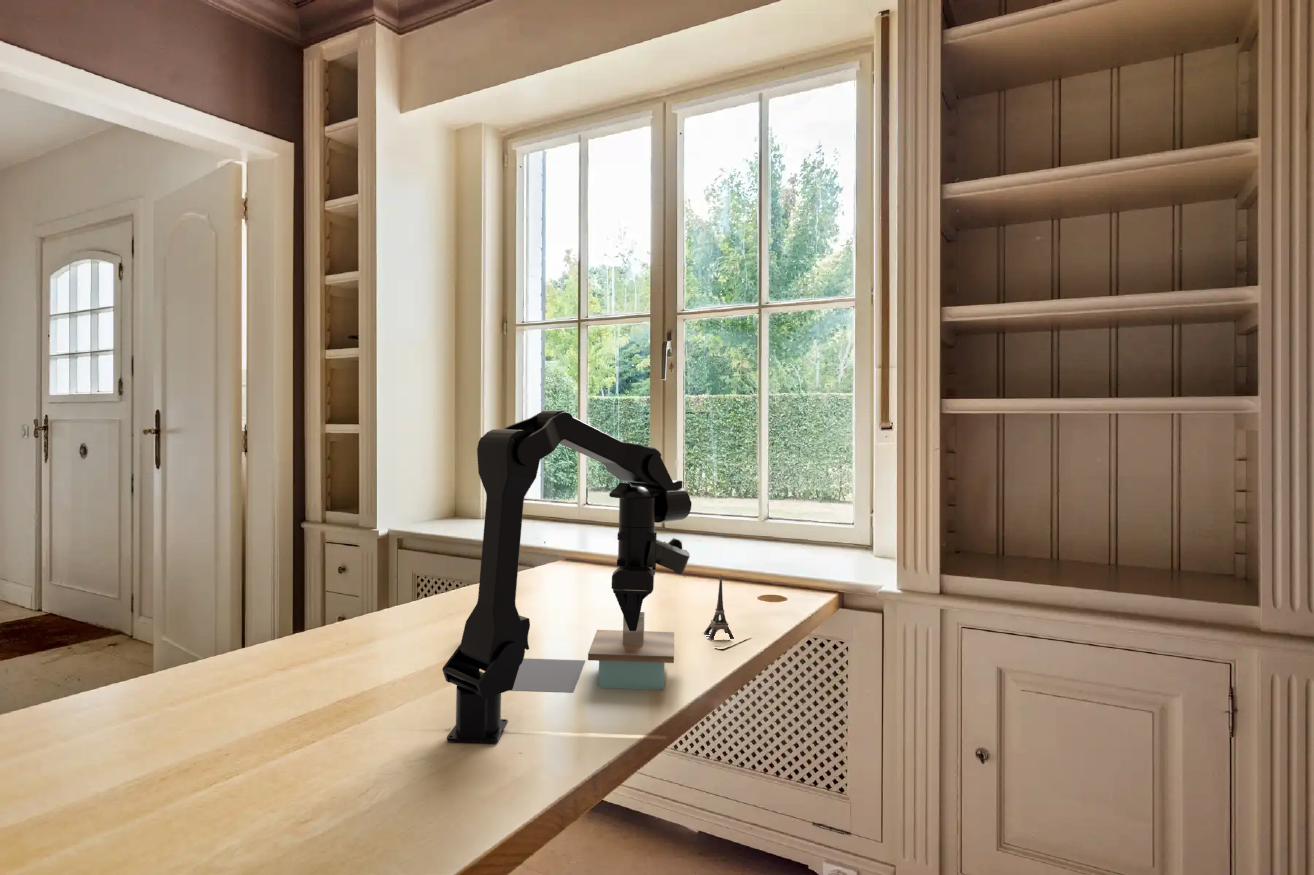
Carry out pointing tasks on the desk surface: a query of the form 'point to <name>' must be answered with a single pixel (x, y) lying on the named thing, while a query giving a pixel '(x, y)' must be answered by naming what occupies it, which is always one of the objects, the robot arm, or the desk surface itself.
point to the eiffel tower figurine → (717, 623)
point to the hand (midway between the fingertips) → (634, 622)
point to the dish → (631, 675)
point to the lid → (632, 645)
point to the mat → (548, 675)
